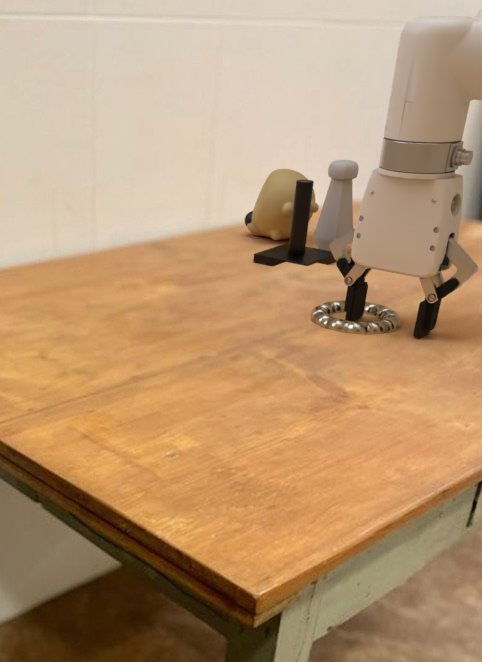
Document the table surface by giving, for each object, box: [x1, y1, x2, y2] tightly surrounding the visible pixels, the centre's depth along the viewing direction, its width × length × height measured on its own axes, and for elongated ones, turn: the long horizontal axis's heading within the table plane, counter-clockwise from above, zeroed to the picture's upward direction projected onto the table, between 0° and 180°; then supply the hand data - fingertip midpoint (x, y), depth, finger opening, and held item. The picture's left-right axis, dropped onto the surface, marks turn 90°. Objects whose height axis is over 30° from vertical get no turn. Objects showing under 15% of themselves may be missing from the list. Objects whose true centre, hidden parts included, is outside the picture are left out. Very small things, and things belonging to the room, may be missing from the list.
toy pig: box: [244, 168, 320, 241], centre depth 131 cm, size 10×12×11 cm
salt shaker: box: [313, 159, 359, 251], centre depth 122 cm, size 6×6×13 cm
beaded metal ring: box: [310, 299, 402, 336], centre depth 94 cm, size 10×10×2 cm
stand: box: [252, 179, 336, 267], centre depth 118 cm, size 9×9×11 cm
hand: (387, 325), depth 92 cm, fingers open, 7 cm apart
